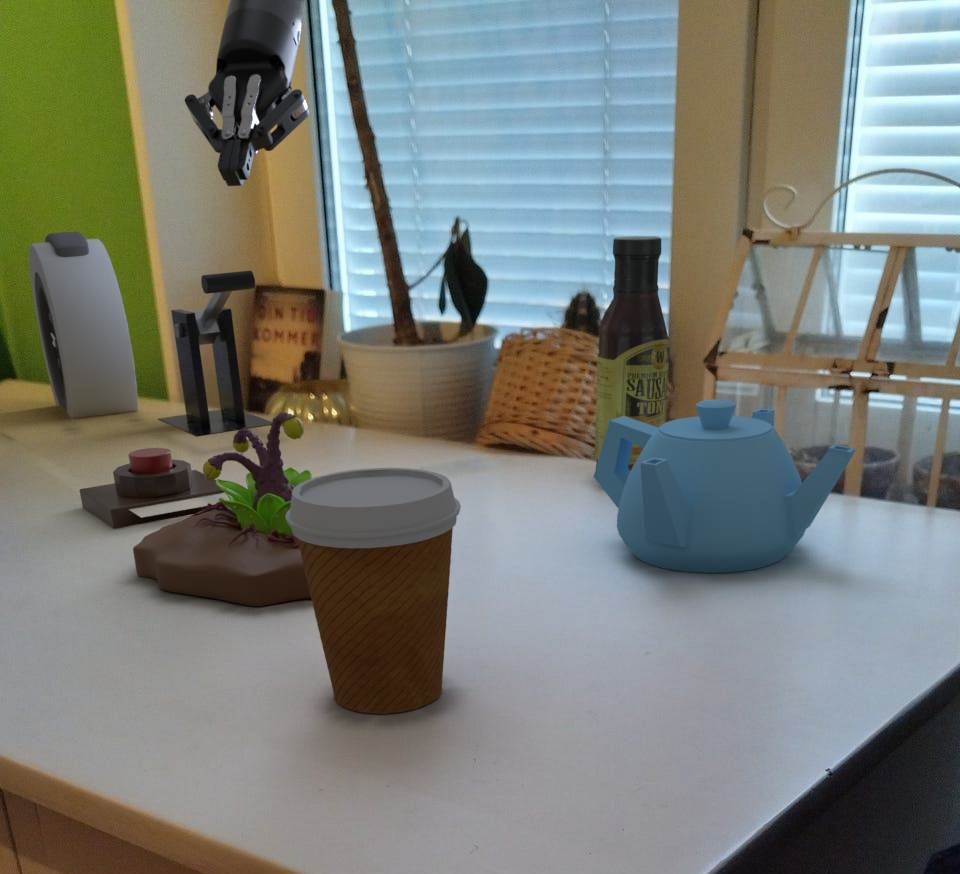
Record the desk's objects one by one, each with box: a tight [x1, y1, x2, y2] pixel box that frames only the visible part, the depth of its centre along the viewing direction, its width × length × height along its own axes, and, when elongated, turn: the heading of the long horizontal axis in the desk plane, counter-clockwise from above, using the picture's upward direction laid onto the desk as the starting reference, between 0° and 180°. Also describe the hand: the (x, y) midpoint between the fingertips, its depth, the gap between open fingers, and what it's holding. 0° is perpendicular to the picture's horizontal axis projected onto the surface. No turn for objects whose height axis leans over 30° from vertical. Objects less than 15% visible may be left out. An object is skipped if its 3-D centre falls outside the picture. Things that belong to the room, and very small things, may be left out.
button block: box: [79, 458, 225, 530], centre depth 116 cm, size 11×9×4 cm
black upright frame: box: [157, 306, 273, 437], centre depth 140 cm, size 12×9×13 cm
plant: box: [132, 411, 312, 607], centre depth 98 cm, size 20×20×11 cm
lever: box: [192, 270, 256, 346], centre depth 134 cm, size 12×5×2 cm, turn 31°
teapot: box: [593, 398, 856, 574], centre depth 96 cm, size 15×15×11 cm
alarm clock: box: [28, 230, 139, 419], centre depth 151 cm, size 21×8×20 cm, turn 23°
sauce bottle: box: [594, 235, 671, 471], centre depth 115 cm, size 6×6×20 cm
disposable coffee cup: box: [285, 467, 462, 715], centre depth 74 cm, size 10×10×12 cm
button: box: [128, 447, 173, 474], centre depth 115 cm, size 4×4×2 cm
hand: (232, 179), depth 128 cm, fingers closed
